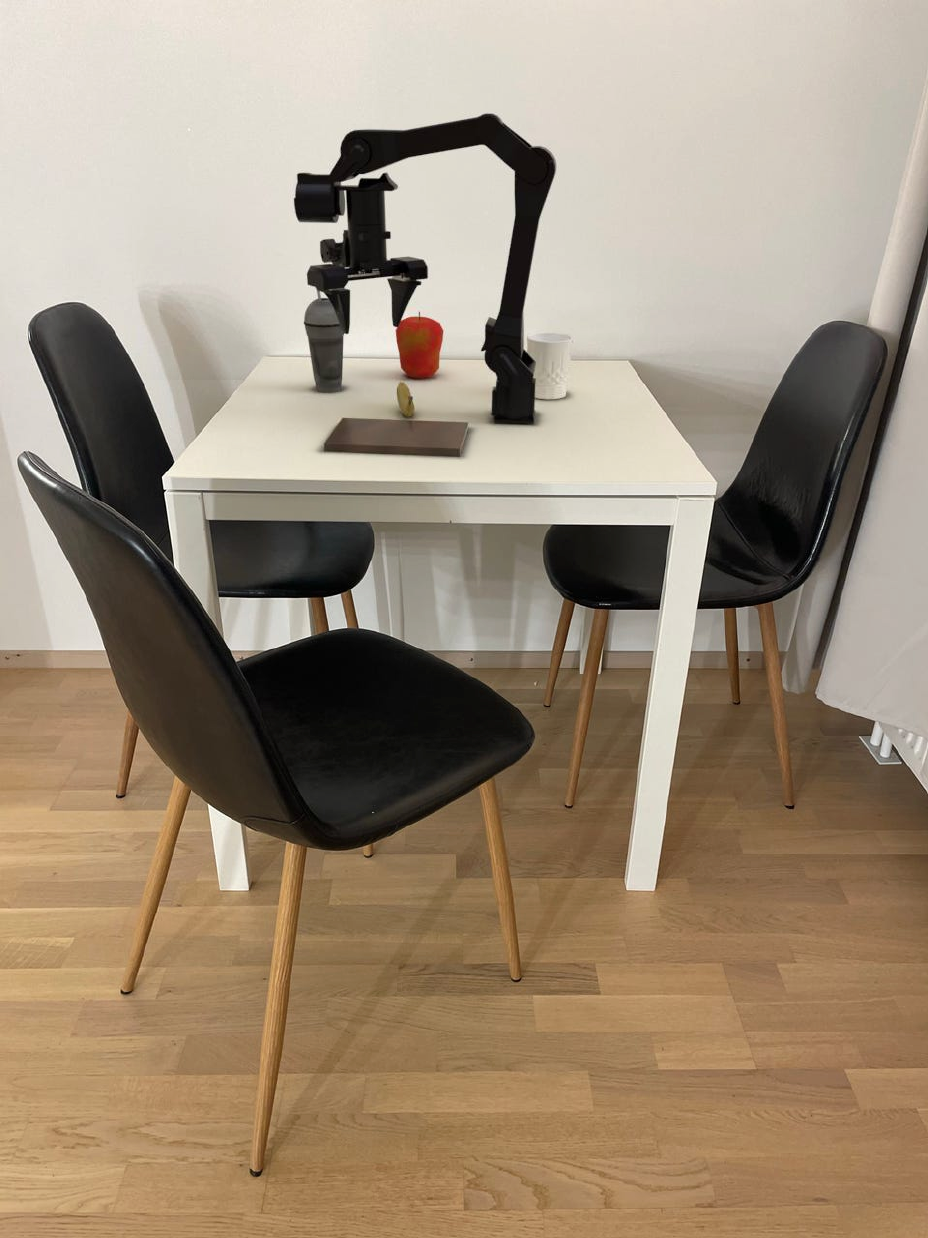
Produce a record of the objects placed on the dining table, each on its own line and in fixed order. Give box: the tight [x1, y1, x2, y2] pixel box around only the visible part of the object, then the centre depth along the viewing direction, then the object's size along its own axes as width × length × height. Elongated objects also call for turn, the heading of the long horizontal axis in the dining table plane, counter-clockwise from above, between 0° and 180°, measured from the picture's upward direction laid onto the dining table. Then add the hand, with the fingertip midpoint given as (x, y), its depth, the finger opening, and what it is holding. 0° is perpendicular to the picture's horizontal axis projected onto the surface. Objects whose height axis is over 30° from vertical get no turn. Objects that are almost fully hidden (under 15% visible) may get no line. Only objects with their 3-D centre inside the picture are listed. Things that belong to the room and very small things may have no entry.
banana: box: [396, 381, 415, 418], centre depth 152 cm, size 10×2×4 cm, turn 11°
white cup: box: [526, 331, 574, 400], centre depth 161 cm, size 8×8×10 cm
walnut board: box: [323, 417, 469, 457], centre depth 140 cm, size 20×13×1 cm, turn 85°
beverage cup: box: [303, 290, 345, 393], centre depth 161 cm, size 7×7×20 cm
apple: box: [395, 311, 444, 379], centre depth 171 cm, size 9×8×12 cm
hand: (371, 329), depth 146 cm, fingers open, 9 cm apart
